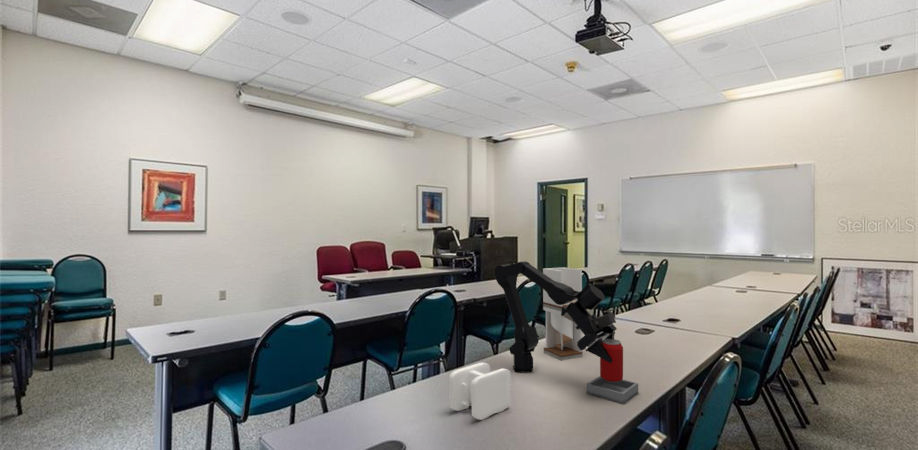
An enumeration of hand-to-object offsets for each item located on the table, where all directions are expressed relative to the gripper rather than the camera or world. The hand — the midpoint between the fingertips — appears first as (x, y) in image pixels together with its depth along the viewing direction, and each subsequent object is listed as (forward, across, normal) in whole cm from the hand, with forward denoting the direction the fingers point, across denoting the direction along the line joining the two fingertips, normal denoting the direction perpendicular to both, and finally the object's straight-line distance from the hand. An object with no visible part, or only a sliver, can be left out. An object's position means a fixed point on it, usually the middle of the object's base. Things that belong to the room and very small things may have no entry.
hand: (615, 359), depth 129 cm
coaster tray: (+7, 0, +8) cm, 11 cm away
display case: (-14, +26, +31) cm, 43 cm away
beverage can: (+4, 0, +6) cm, 7 cm away
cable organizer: (-10, -37, +26) cm, 46 cm away
